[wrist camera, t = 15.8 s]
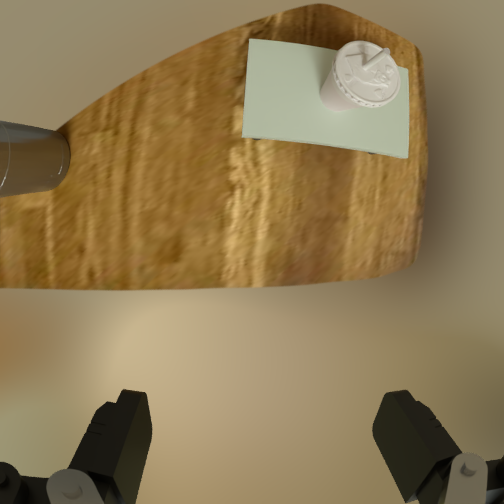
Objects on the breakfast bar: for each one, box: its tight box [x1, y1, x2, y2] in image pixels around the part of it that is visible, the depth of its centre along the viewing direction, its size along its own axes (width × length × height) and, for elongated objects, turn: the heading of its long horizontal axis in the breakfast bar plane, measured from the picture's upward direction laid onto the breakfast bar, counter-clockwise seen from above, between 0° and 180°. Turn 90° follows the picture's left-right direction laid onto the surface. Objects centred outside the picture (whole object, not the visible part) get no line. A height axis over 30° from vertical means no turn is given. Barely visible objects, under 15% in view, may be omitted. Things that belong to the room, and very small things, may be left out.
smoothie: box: [320, 41, 401, 112], centre depth 24 cm, size 6×6×14 cm
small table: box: [242, 39, 409, 158], centre depth 34 cm, size 20×12×7 cm, turn 86°
